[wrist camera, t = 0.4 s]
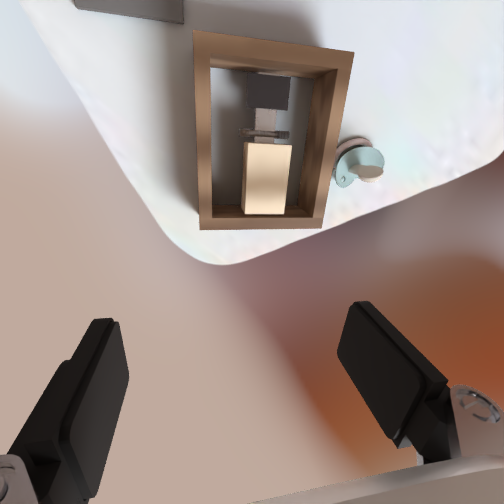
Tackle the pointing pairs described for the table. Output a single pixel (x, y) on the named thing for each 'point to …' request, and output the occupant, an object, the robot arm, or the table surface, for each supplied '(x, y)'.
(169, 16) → the rubber mat
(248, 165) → the tan rectangular block
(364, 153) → the pacifier
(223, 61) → the block
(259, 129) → the lever
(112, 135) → the table surface
